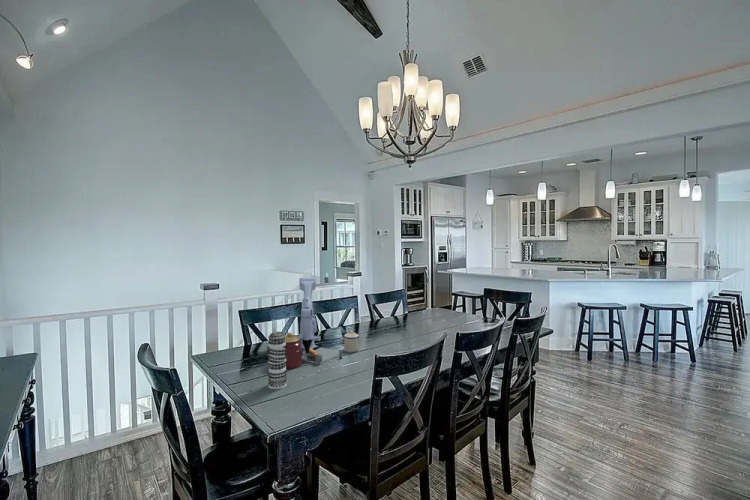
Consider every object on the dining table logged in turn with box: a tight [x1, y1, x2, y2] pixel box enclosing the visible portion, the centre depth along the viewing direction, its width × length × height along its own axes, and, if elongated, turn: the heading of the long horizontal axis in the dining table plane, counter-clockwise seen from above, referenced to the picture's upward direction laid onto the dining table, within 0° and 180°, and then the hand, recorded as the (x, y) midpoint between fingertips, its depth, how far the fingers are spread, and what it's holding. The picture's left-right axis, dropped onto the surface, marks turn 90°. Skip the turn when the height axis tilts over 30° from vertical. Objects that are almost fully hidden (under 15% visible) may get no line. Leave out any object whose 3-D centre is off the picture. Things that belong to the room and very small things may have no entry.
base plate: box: [302, 347, 343, 365], centre depth 219 cm, size 21×22×4 cm
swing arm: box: [309, 347, 322, 362], centre depth 216 cm, size 20×3×4 cm, turn 30°
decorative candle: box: [266, 331, 288, 390], centre depth 179 cm, size 9×9×25 cm
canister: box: [285, 332, 303, 369], centre depth 207 cm, size 13×13×18 cm
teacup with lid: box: [338, 330, 360, 353], centre depth 232 cm, size 12×9×12 cm
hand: (307, 353), depth 216 cm, fingers closed
